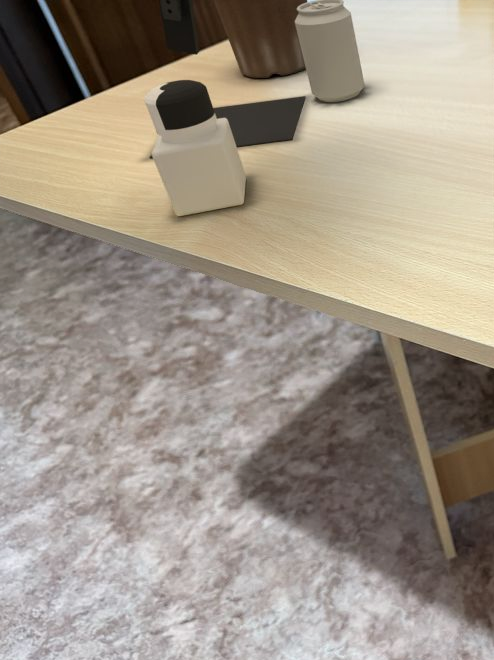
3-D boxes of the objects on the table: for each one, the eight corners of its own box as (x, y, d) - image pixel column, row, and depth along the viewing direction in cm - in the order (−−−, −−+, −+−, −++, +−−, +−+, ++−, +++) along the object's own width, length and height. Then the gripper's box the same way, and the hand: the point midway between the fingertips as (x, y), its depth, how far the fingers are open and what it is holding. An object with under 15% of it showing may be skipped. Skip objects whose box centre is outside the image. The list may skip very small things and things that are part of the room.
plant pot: (349, 53, 114) (326, -59, 104) (287, 86, 103) (255, -34, 93) (273, 49, 121) (245, -56, 111) (208, 80, 110) (171, -33, 100)
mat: (149, 158, 86) (149, 157, 86) (181, 113, 99) (180, 112, 99) (292, 139, 86) (291, 138, 86) (305, 97, 99) (305, 96, 99)
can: (335, 107, 94) (314, 12, 86) (302, 99, 98) (279, 7, 91) (376, 90, 98) (359, -3, 90) (343, 82, 102) (324, -7, 95)
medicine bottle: (247, 177, 78) (212, 69, 71) (244, 205, 73) (206, 90, 65) (183, 189, 78) (141, 81, 70) (176, 218, 72) (129, 103, 65)
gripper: (158, -218, 45) (203, 87, 61) (265, -273, 61) (279, -22, 77) (41, -242, 44) (117, 71, 60) (180, -291, 61) (211, -35, 77)
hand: (208, 19), depth 69 cm, fingers open, 13 cm apart
